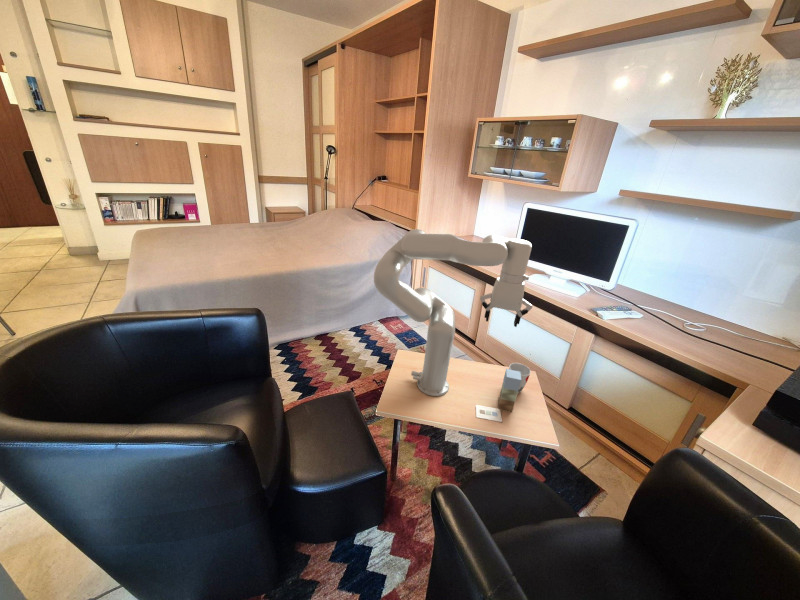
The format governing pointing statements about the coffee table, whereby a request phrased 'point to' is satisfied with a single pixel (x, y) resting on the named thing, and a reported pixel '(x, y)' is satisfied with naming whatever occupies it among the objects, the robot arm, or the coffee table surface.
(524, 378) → the cup
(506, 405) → the tower base
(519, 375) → the blue brick
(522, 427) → the coffee table surface
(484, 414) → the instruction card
